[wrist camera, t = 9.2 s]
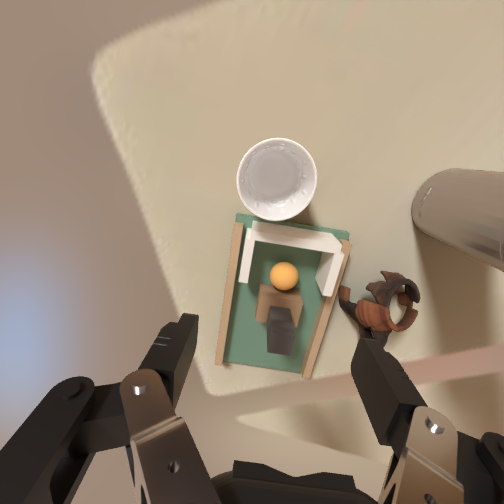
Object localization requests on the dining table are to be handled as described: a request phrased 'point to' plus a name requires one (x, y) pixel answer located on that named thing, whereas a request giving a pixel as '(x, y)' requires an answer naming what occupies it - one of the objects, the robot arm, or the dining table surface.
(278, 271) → the ball
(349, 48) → the dining table surface
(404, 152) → the dining table surface
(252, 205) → the white cup
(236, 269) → the pitch
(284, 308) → the striker
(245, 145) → the dining table surface
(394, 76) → the dining table surface
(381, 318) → the pottery mug
